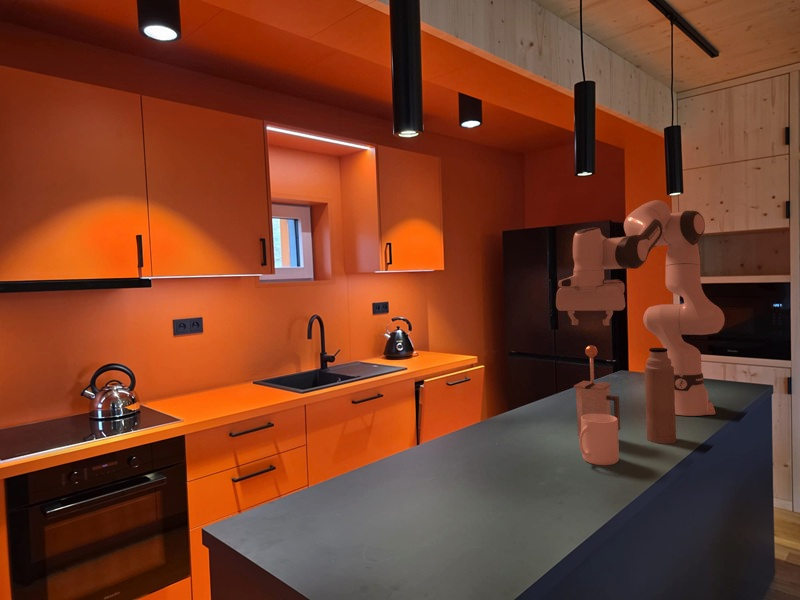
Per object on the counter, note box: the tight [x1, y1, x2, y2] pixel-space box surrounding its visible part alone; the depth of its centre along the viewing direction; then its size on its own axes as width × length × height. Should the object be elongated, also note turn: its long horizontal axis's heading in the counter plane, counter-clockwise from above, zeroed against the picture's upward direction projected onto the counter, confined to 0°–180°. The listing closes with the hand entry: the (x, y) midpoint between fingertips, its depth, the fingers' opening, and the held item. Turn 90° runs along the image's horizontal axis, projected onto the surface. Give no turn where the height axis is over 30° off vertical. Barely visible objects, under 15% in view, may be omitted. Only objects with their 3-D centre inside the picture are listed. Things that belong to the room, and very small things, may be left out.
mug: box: [579, 414, 620, 466], centre depth 141 cm, size 10×12×12 cm
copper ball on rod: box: [584, 345, 598, 387], centre depth 159 cm, size 7×7×18 cm
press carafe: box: [573, 380, 621, 440], centre depth 159 cm, size 9×12×17 cm
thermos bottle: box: [644, 347, 677, 445], centre depth 156 cm, size 8×8×28 cm
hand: (590, 325), depth 159 cm, fingers open, 8 cm apart
